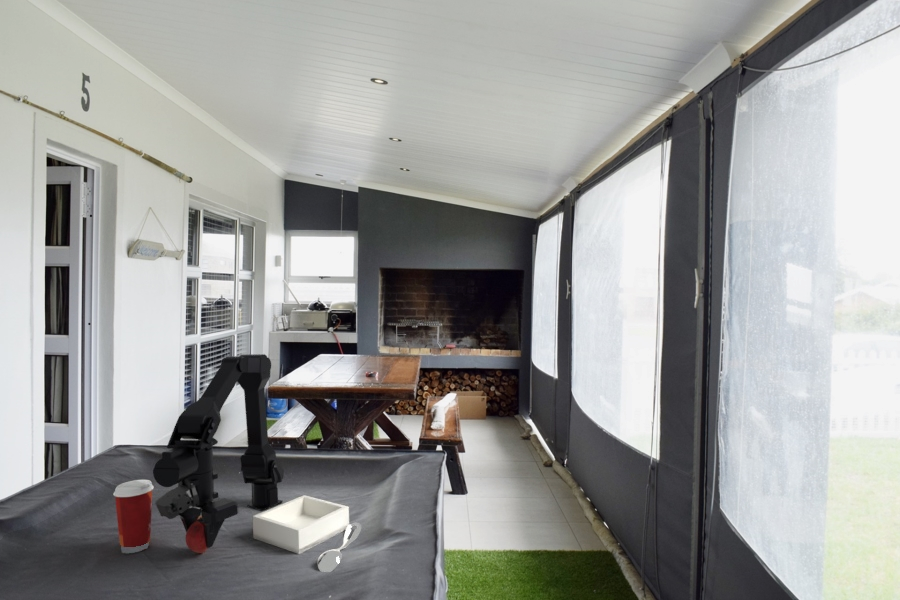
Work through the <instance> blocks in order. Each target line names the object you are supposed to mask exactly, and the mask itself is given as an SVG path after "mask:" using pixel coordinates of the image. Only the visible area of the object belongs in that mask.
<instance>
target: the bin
mask: <svg viewBox="0 0 900 600" xmlns="http://www.w3.org/2000/svg"><path fill="white" fill-rule="evenodd" d="M349 525H350V507H349V506H346V505H344V504H340V503H336V502H332V501H329V500H325V499H324V500H323V499H320V498H317V497H313V496H309V495H305V494H303V495H302V496H299V497H296V498H294V499H291V500H289V501H287V502H284V503H280V504H278V505H276V506H273V507H271V508H268V509H266V510H263V511H262V512H259V513H256V514H255V515H253V516H252V529H253V533H252V534H253V536H252V537H253V539H255V540H258V541H259V542H263V543H265V544H269V545H271V546H274V547H276V548H280V549H283V550H286V551H289V552H291V553H295V554H297V555H300V554H302V553H305V552H307V551H308V550H310V549H312V548H314V547H315V546H318V545H319V544H322V543H323V542H326V541H328V540H329V539H331V538H333V537H334V536H338V535H339V534H340V533H343V532H345V531H346V529H347V527H348V526H349Z"/></svg>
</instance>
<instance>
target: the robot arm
mask: <svg viewBox="0 0 900 600" xmlns="http://www.w3.org/2000/svg"><path fill="white" fill-rule="evenodd" d="M218 368H219V369H218V370H217V371H216V373H215V374H214V376H213V378H212V379H211V380H210V383H208V386H207V387H206V389H205V390H204V392H202V395H201V397H200V398H199V399H198V400H196V401H194V402H193V403H191V404H189V405H187V407H186V408H185V409H184V410H183V411H182V412H181V414H180V415H179V416H178V418H177V420H176V421H175V422H176V423H175V425H174V428H173V430H172V432H171V435H170V438H169V441H168V444H167V446H166V448H167V449H168V450H165V451H162V452H161V458H160V459H158V461H157V462H155V465H154V467H153V470H152V474H153V477H154V480H155V482H156V483H157V484H158V485H159V486H161V487H164V488H170V487H174V486H175V485H176V484H177V487H175V488H172V489H170V490H169V491H167V492H166V493H165V494H163V495H162V496H161V497H159V498H158V499H156V501H155V502H154V504H155V506H156V508H157V510H158V512H159V514H160V516H161V517H165V518H167V519H169V520H172V519H175V518H176V517H179V518H180V520H181V522H182V524H183V528H184V529H185V532H186V533H187V531H188V529H189V528H190V526H191V525H192V524H193V523H194V522H195V521H196V520H197V519H198V517H199V516H202V518H200V519H198V520H197V521H198V522H200V523H201V524H202V525H203V528H204V535H205V542H206V547H207V548H208V549H210V548H212V547H213V545H214V544H215V541H216V539H217V536H218V534H219V533H220V530H221V528H222V525H223V524H224V522H225V520H226V519H229V518H232V517H233V516H236V515H239V503H238V502H236V501H235V500H231V499H228V498H223V497H222V498H221V499H218V500H216V501H214V499H217V498H219V492H218V491H215V489H214V487H215V485H214V483H215V482H214V481H215V480H217V479H218V477H219V475H218V473H217V472H214V456H213V455H214V453H213V449H214V448H213V447H214V446H216V445H217V444H218V440H217V439H216V438H214V436H215V435H216V432H217V431H218V429H219V426H220V424H221V420H222V419H221V418H222V417H221V410H222V408H223V407H224V405H225V403H226V401H227V400H228V398H229V396H230V395H231V393H232V390H233V389H234V388H235V386H236V384H237V383H238V385H239V386H240V387H241V388H242V390H243V393H244V406H245V408H244V409H245V420H246V435H247V448H246V450H244V453H243V454H241V456H240V466H241V467H240V471H241V474H242V478H243V481H244V482H243V483H244V484H251V501H250V502H249V503H247V504H246V506H247V507H248V506H249V507H248V508H251V507H252V509H255V510H258V511H262V512H264V511H267V510H269V509H272V508H274V507H277V506H279V505H281V504H283V500H282V499H279V497H278V496H279V489H278V483H282V482H283V479H284V476H285V470H284V469H283V467H282V466H281V465H280V463H279V462H278V460H277V454H276V453H277V452H276V451H275V450H274V448H273V447H272V445H271V444H270V443H269V435H268V420H267V405H266V393H265V392H266V390H265V388H266V385H267V384H268V382H269V380H270V378H271V369H272V361H271V359H270V358H269V357H268V356H267V355H266V354H265V353H263V354H259V353H257V354H254V353H253V354H240V355H239V356H237V355H234V356H226V357H223V358H222V359H221V362H220V366H219V367H218ZM186 533H185V534H186Z"/></svg>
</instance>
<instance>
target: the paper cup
mask: <svg viewBox="0 0 900 600" xmlns="http://www.w3.org/2000/svg"><path fill="white" fill-rule="evenodd" d="M115 487H116V488H115V490H114V492H113V494H112V495H113V496H114V499H115V508H116V518H117V528H118V537H119V538H118V539H119V546H120V545H121V546H123V547H136V546H141V545H144V544H146V543H148V542H149V541H150V542H151V533H152V510H153V509H152V508H153V507H152V505H153V504H152V503H153V501H152V499H153V490H154V488H155V487H154V485H153V483H152V481H151V480H149V479H134V480H129V481H125V482H122V483H120V484H118V485H117V486H115Z"/></svg>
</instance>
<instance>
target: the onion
mask: <svg viewBox="0 0 900 600" xmlns="http://www.w3.org/2000/svg"><path fill="white" fill-rule="evenodd" d="M200 518H202V516H201V515H200V516H199V517H198V519H200ZM198 519H197V520H198ZM197 520H196V521H195V522H194V523H193V524H192V525H191V526H190V528H189V529H188V531H187V533H185V538H184V539H185V543H186V546H187V548H188V549H189V550H190V551H192V552H195V553H197V554H199V553H202V554H204V553H205V552H206V551H207V550H208V549H209V548H207V547H206V542H205V535H204V528H203V525H202V524H201V523H200V522H198V521H197ZM203 552H204V553H203Z"/></svg>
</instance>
